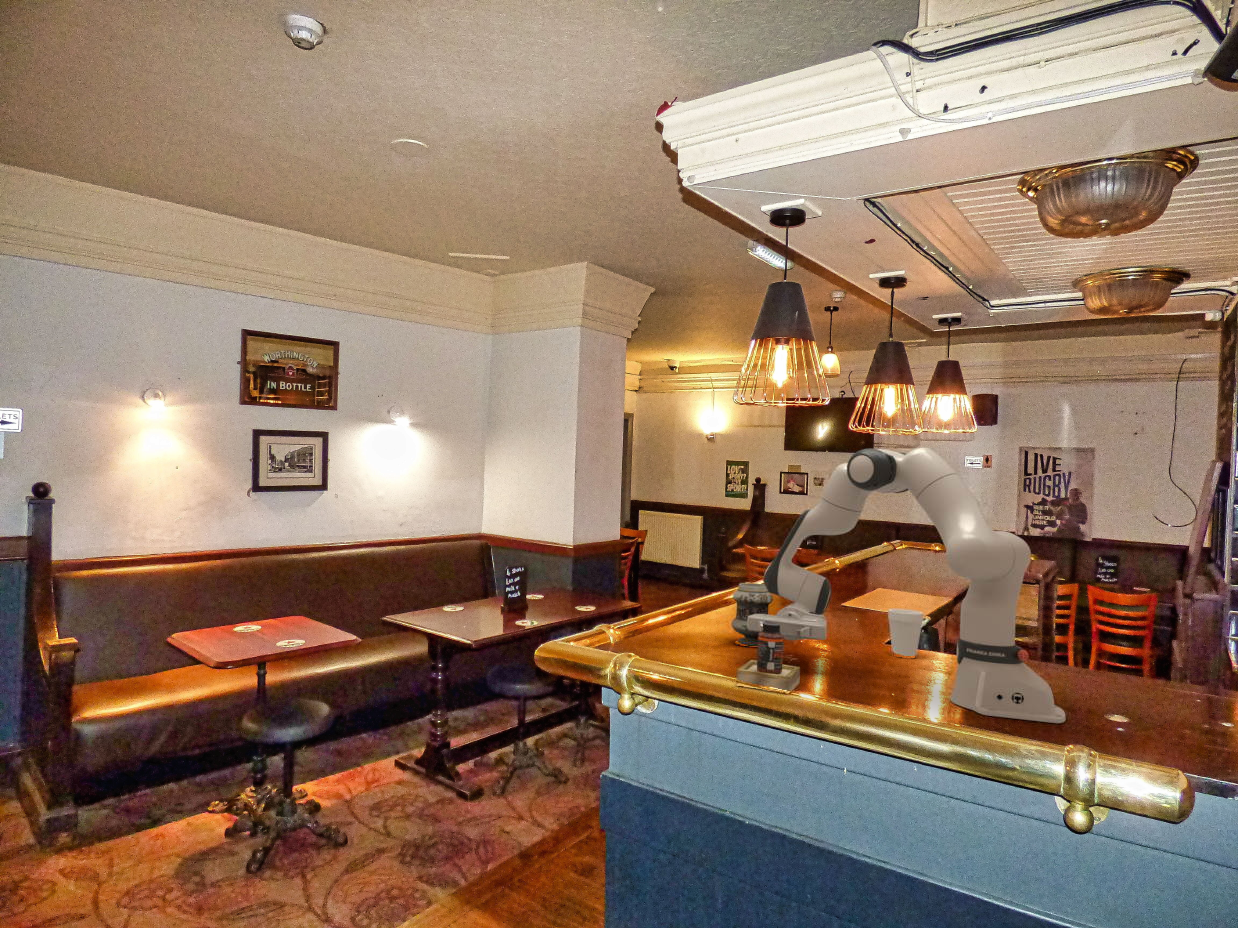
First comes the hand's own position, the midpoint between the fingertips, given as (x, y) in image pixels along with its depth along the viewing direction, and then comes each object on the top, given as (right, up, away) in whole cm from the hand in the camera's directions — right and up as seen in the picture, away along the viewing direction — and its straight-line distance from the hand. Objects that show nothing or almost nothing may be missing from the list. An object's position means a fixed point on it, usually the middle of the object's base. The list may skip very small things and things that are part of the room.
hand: (780, 630), depth 183 cm
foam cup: (+43, -14, +30) cm, 54 cm away
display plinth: (-5, -10, -10) cm, 16 cm away
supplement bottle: (-5, -8, -10) cm, 14 cm away
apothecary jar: (-1, -13, +36) cm, 38 cm away
